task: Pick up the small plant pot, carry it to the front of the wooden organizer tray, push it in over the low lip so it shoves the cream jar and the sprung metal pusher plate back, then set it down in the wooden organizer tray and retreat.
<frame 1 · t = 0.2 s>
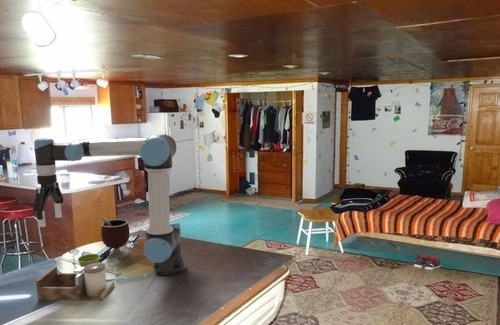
hand: (50, 221, 175), 27 cm above the counter, fingers open, 13 cm apart
plant pot: (90, 275, 183), on the counter
cream jar: (96, 292, 165), point 1 cm above the counter, touching wooden organizer tray
pusher: (80, 280, 164), point 6 cm above the counter, slide at 0.0 cm
wooden organizer tray: (78, 294, 165), on the counter
mate gourd: (115, 254, 209), on the counter
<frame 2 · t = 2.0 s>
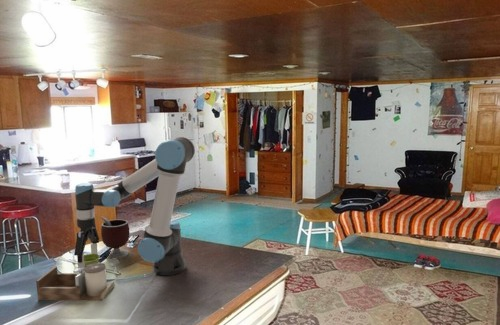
hand: (88, 262, 182), 6 cm above the counter, fingers open, 13 cm apart
nothing on the counter moved.
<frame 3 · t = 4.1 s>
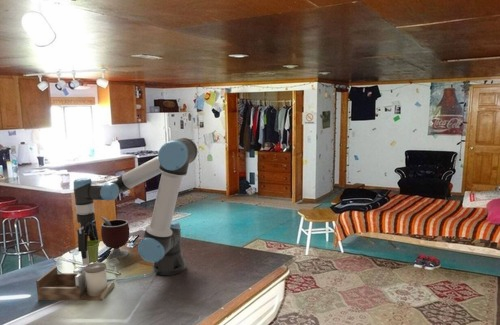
hand: (90, 260, 182), 7 cm above the counter, fingers closed on plant pot, 8 cm apart
plant pot: (90, 261, 182), point 7 cm above the counter, touching gripper
everything else where it was.
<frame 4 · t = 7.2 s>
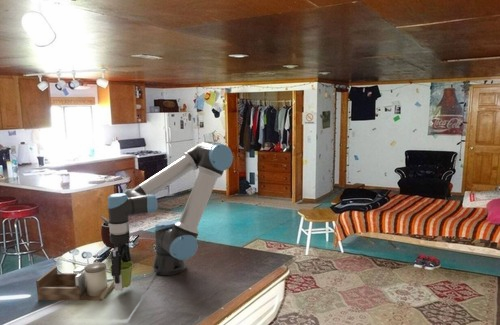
hand: (122, 284, 164), 4 cm above the counter, fingers closed on plant pot, 8 cm apart
plant pot: (122, 286, 164), point 4 cm above the counter, touching gripper
everything else where it was.
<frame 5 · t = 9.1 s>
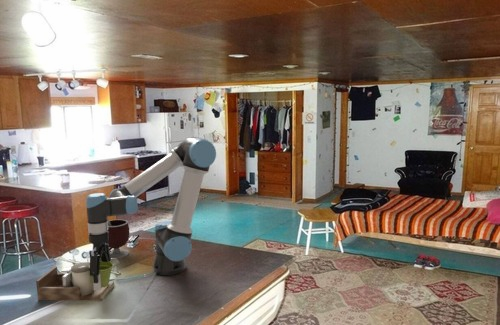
hand: (101, 284, 164), 4 cm above the counter, fingers closed on plant pot, 8 cm apart
plant pot: (100, 285, 164), point 4 cm above the counter, touching cream jar, gripper
cream jar: (84, 291, 166), point 1 cm above the counter, touching plant pot
pusher: (68, 280, 165), point 6 cm above the counter, slide at 5.1 cm
everything else where it was.
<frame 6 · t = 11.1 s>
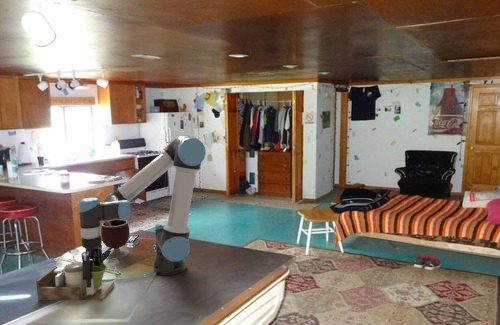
hand: (94, 289, 165), 2 cm above the counter, fingers closed on plant pot, 7 cm apart
plant pot: (92, 286, 165), point 3 cm above the counter, touching cream jar, gripper
cream jar: (76, 291, 166), point 1 cm above the counter, touching wooden organizer tray, plant pot
pusher: (61, 279, 165), point 6 cm above the counter, slide at 8.2 cm
everything else where it was.
when the fingers open (2 cm above the counter, at t = 11.1 s): plant pot stays where it is, resting on cream jar.
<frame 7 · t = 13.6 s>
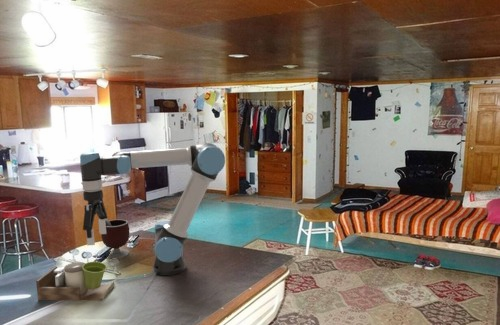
hand: (97, 239, 167), 22 cm above the counter, fingers open, 13 cm apart
plant pot: (92, 286, 165), point 3 cm above the counter, touching cream jar
cream jar: (76, 291, 166), point 1 cm above the counter, touching wooden organizer tray, plant pot, pusher
pusher: (61, 279, 165), point 6 cm above the counter, slide at 8.2 cm, touching cream jar
everything else where it was.
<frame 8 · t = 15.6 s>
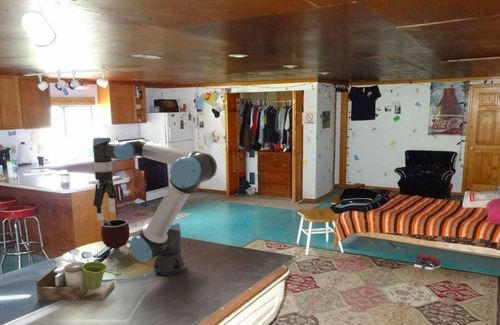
hand: (106, 215, 185), 27 cm above the counter, fingers open, 13 cm apart
nothing on the counter moved.
at the end: plant pot inside the target area on the wooden organizer tray (0.8 cm from its centre), point 3.4 cm above the wooden organizer tray's base; plant pot tilted 11°; cream jar inside the target area on the wooden organizer tray (1.8 cm from its centre), point 1.0 cm above the wooden organizer tray's base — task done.
